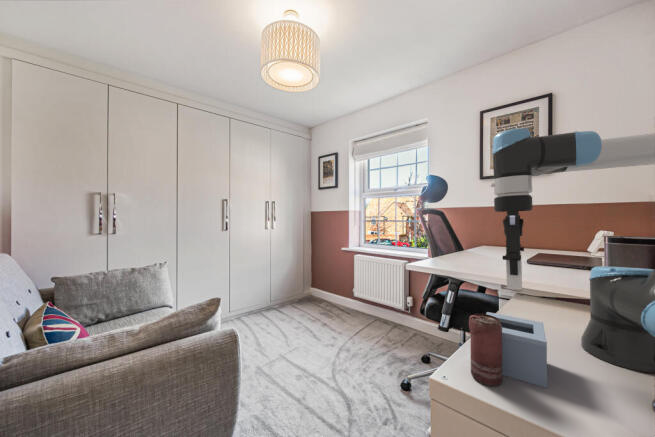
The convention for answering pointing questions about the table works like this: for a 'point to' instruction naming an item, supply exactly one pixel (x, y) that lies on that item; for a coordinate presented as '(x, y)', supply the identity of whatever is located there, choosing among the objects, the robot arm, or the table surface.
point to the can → (486, 349)
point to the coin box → (523, 349)
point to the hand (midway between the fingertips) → (515, 282)
